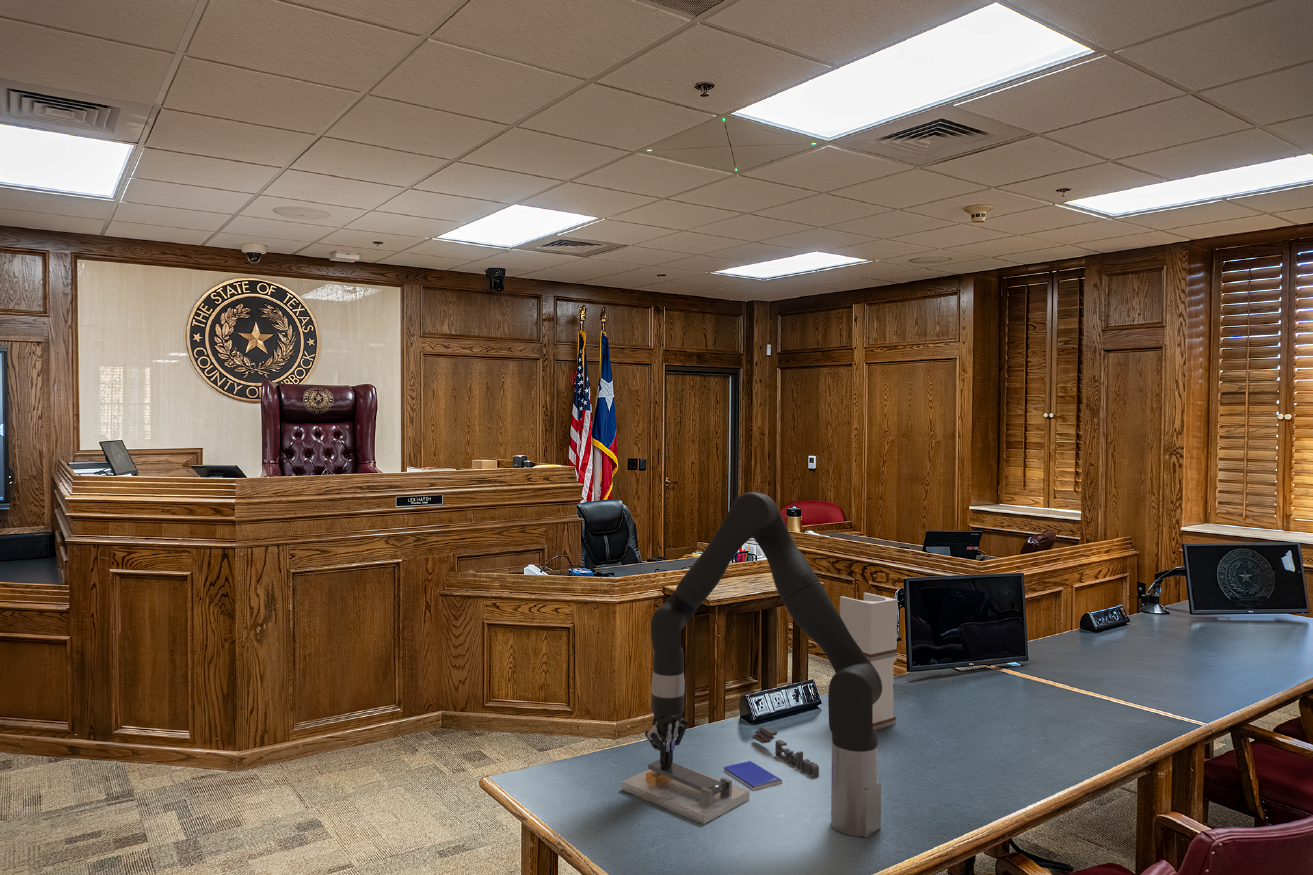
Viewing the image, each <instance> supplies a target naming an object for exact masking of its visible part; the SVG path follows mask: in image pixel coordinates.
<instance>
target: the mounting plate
mask: <svg viewBox="0 0 1313 875" xmlns="http://www.w3.org/2000/svg"><path fill="white" fill-rule="evenodd" d="M679 765H680V764H679ZM680 766H683V767H685V768H688V769H690V770H693V771H695V772H697V773H700V774H702V775H705V776H707V777H710V778H712V779H715V780H717V781H719V782H722V781H724V782H725V783H726V785H727V788H726V790H724V791H722V792H720V793H718V794H716V795H714V796H713V790H710V789H708V788H705V787H703V788H701V791H699V790H696V789H694V788H692V787H689V786H687V785H685V784H682V783H680V782H678V781H675V780H673V779H671V778H668V777H666V776H664V775H661V774H659V773H657V772H654V771H652V770H650V769H647V770H644V771H642V772H640V773H638V774H635V775H633V776H631V777H628V778H627V779H625V780H622V781H621V791H623V790H624V791H623V792H625V791H626V792H625V793H628V792H629V793H628V794H630V793H632V794H634V795H633V796H635V795H636V796H635V797H637V796H638V797H637V798H639V797H641V798H640V799H642V800H644V799H646V800H645V801H647V802H649V801H651V802H652V803H651V802H650V803H651V804H654V803H656V804H657V805H656V804H655V805H656V806H658V805H660V806H659V807H661V806H662V807H661V808H663V807H665V808H667V809H666V810H668V809H670V810H672V811H671V812H673V811H674V812H673V813H675V812H676V813H675V814H677V813H678V815H680V814H682V815H683V816H682V815H681V816H682V817H684V816H686V817H685V818H687V817H688V818H687V819H689V818H690V820H692V821H694V820H695V821H694V822H696V821H697V822H696V823H699V822H700V823H699V824H701V825H706V824H708V823H709V821H710V822H712V821H713V820H715V819H717V818H718V816H719V817H720V816H722V815H724V814H726V813H728V812H730V811H732V810H733V809H735V808H738V807H739V806H741V805H743V804H745V803H746V802H748V801H750V790H748V789H746V788H744V787H740V786H738V785H735V784H733V781H732V780H731V779H729V778H726V777H722V778H720V779H719V778H716V777H714V776H713V777H712V776H710V775H708V774H705V773H702V772H700V771H697V770H695V769H692V768H689V767H686V766H684V765H680ZM632 794H631V795H632ZM665 808H664V809H665ZM670 810H669V811H670ZM711 820H712V821H711ZM707 822H708V823H707Z"/></svg>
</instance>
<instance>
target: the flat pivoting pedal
mask: <svg viewBox="0 0 1313 875" xmlns="http://www.w3.org/2000/svg"><path fill="white" fill-rule="evenodd" d="M647 766H648V767H647V770H649V769H650V770H652V771H654V772H657V773H659V774H661V775H664V776H666V777H668V778H671V779H673V780H675V781H678V782H680V783H682V784H685V785H687V786H689V787H692V788H694V789H696V790H699V791H701V788H703V787H705V788H708V789H710V790H713V796H714V795H716V794H718V793H720V792H722V791H724V790H726V788H727V785H726V783H725V782H724V781H722V782H719V781H717V780H715V779H712V778H710V777H707V776H705V775H706V774H705V775H702V774H700V773H701V772H700V773H697V772H698V771H697V772H695V771H696V770H695V771H693V770H694V769H692V770H690V769H691V768H689V767H687V768H685V767H686V766H684V765H681V766H680V764H678V763H675V762H674V761H673V762H672V766H671V767H668V768H665V767H663V766H661V764H660V759H658V760H656V761H653V762H651V763H649V764H648V765H647ZM683 766H684V767H683ZM688 768H689V769H688Z"/></svg>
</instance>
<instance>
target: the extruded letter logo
mask: <svg viewBox="0 0 1313 875" xmlns="http://www.w3.org/2000/svg"><path fill="white" fill-rule="evenodd" d="M778 733H779V731H775V730H773V729H772V728H770V727H768V726H764V727H760V728H758V729H757V730H755V732H754V735H752V738H751V739H754V740H755V741H757V742H759V743H761V744H767V743H771V742H772V741H773V740H774V739H775V738H776V736H777V735H778ZM774 745H775V748H774V749H775V750H774V751H775V752H774V753H775V755H776V756H777V757H776V756H775V755H774V756H775V757H776V758H778V759H780V760H782V761H784V762H785V761H786V763H787V764H790V766H792V767H796V768H797V769H798V770H800V771H801V772H803V773H804V774H805V773H807V775H808V776H812V778H814V779H815V778H819V777H820V767H819V765H818V763H815V762H813V761H812V762H811V760H810V759H808V758H806V759H805V758H804V751H802V750H801V751H796V752H795V753H794V750H791V749H790V748H788V747H787V748H784V746H785V747H786V746H787V745H788V744H787V742H785V741H783V739H779V740H778V739H777V740H775V744H774Z"/></svg>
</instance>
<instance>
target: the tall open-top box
mask: <svg viewBox="0 0 1313 875" xmlns="http://www.w3.org/2000/svg"><path fill="white" fill-rule="evenodd" d="M839 615H840V617H841V618H842V620H843V622H844V624H845V625H846V627H847V629H848V631H849V633H850V634H851V636H852V637H853V639H854V640H855V642H856V643H857V644H858V646H859V647H860V649H861V650H862V651H863V653H864V654H865V655H866V657H867V658H868V659H869V661H870V662H871V663H872V665H873V666H874V668H875V669H876V671H877V672H878V674H879V676H880V678H881V682H882V693H881V696H880V698H879V699H878V700H877V701H876V702H875V703H874V704H873V728H874V729H875V730H876V729H878V730H880V729H884V728H887V726H888V727H891V726H894V724H895V723H896V724H897V717H896V716H895V715H894V683H895V682H894V680H895V679H894V674H895V673H894V670H895V669H894V668H895V666H894V664H895V663H894V662H897V654H898V653H897V651H898V650H897V649H898V648H897V646H898V645H897V643H898V641H897V640H898V599H896V598H892V597H888V596H883V595H878V594H873V593H870V592H863V600H860V599H855V598H852V597H847V596H843V595H842V596H840V597H839ZM896 724H895V725H896ZM890 725H891V726H890ZM883 727H884V728H883ZM876 731H877V730H876Z"/></svg>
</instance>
